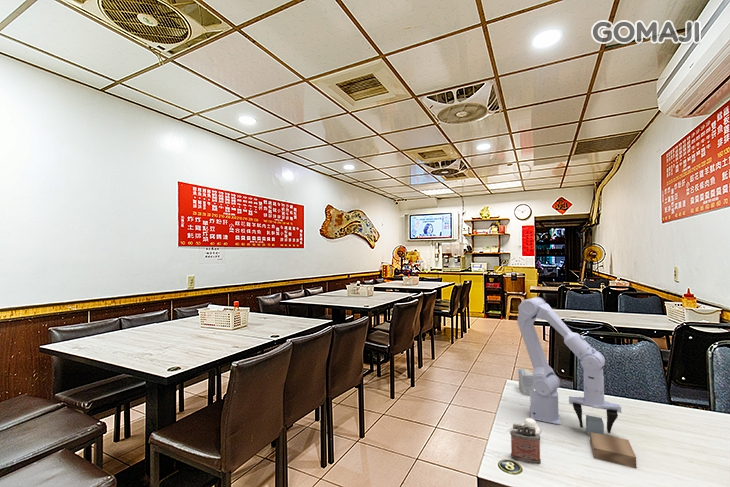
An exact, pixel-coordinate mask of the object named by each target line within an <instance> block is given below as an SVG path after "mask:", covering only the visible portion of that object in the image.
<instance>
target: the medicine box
mask: <svg viewBox="0 0 730 487" xmlns="http://www.w3.org/2000/svg"><path fill="white" fill-rule="evenodd" d="M532 375H533V373H532V372H531V371H530V370H529V369H527V368H526V369H524V368H523V369H522V368H520V369H518V388H519V391H520V392H521V393H522V394H523V396H530V391H535V389H534V386H533V383H534V379H533V376H532Z"/></svg>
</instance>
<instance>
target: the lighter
mask: <svg viewBox="0 0 730 487" xmlns="http://www.w3.org/2000/svg"><path fill="white" fill-rule="evenodd" d="M521 430H522V431H521ZM509 432H510V433H509V434H510V447H511V450H510V452H511V453H510V458H511V459H512V460H513V459H514V461H517V462H521V463H525V464H532V465H540V464H541V462H542V460H541V446H540V445H541V442H540V441H541V434H540V435H538V434H536V433H535V432H536V428H535V427H530V426H528V425H527V424H524V425H521V423H520V424H518V423H513V424H512V429H511V430H510V431H509Z"/></svg>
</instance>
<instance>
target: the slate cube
mask: <svg viewBox="0 0 730 487" xmlns="http://www.w3.org/2000/svg"><path fill="white" fill-rule="evenodd" d="M604 425H605V424H604V420H603V418H602V417H599V416H594V415H588V414H585V430H586V435H587V436H588V437H590V432H593V433H598V434H603V435H605V427H604Z"/></svg>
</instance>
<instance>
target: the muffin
mask: <svg viewBox="0 0 730 487" xmlns="http://www.w3.org/2000/svg"><path fill="white" fill-rule="evenodd" d="M536 421H537V420H534V419H531V417H530V418H529V417H528V418H525V419H524V421H523V422H522V423H520V425H524V424H527V425H528V426H530V427H535V428H536V432H535V433H536V434H538V435H540V436H541V434H542V430H541V427H540V426H538V424H537V422H536ZM520 431H522V430H520Z"/></svg>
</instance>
